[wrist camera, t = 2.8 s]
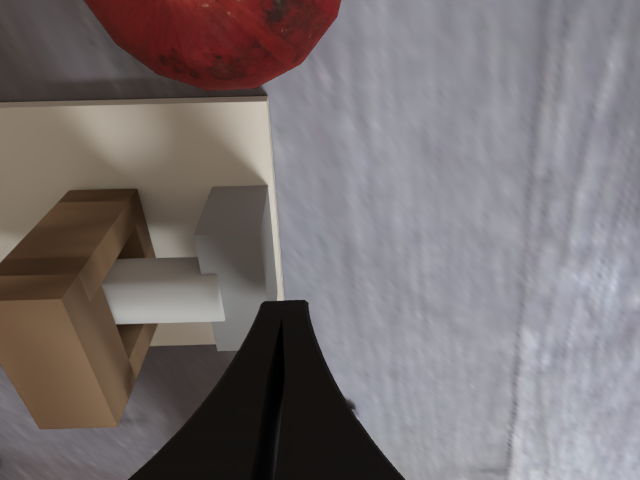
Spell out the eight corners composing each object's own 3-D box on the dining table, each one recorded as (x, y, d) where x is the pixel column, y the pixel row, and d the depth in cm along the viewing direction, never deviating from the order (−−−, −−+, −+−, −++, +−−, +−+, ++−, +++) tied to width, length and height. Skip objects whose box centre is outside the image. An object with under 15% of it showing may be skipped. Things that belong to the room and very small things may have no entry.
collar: (137, 188, 16) (61, 299, 11) (167, 299, 19) (117, 426, 14) (69, 190, 16) (-37, 301, 11) (109, 301, 19) (39, 429, 14)
